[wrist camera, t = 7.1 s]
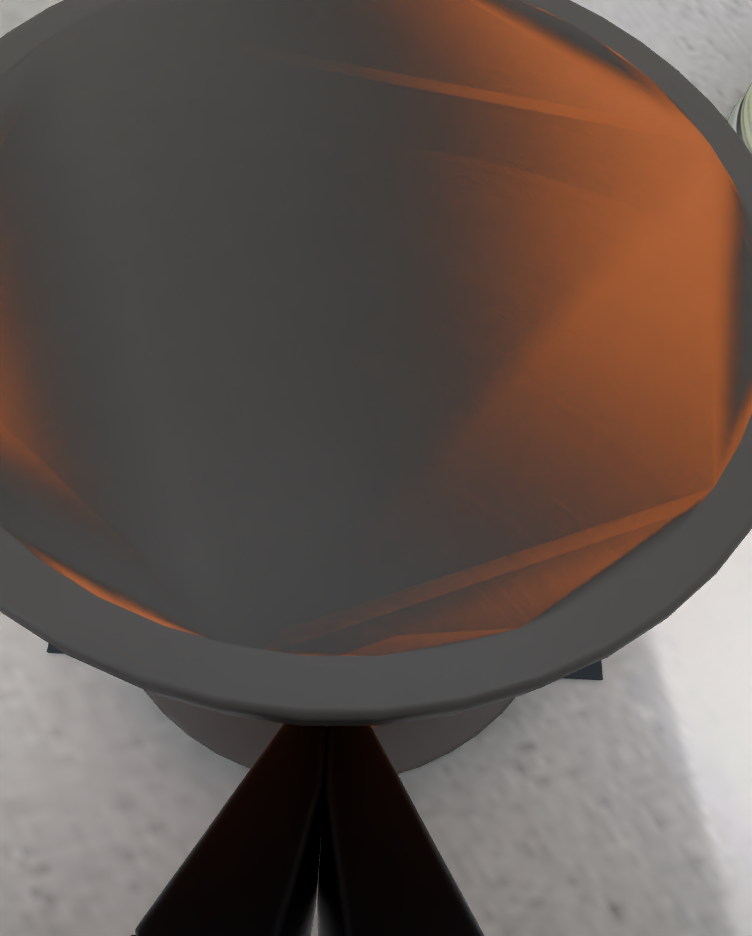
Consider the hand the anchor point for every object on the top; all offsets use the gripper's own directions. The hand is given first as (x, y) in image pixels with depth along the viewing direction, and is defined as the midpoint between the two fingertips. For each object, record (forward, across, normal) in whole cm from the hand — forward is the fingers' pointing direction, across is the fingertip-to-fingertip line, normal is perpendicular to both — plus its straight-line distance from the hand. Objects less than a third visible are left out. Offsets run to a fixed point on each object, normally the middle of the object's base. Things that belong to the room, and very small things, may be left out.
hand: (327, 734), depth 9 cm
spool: (+9, 0, +2) cm, 9 cm away
